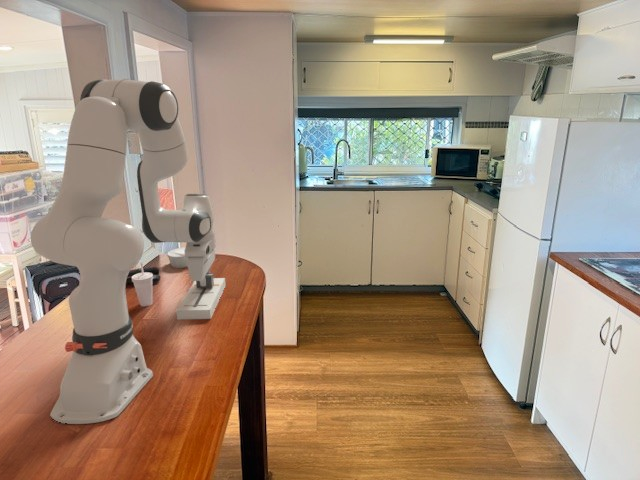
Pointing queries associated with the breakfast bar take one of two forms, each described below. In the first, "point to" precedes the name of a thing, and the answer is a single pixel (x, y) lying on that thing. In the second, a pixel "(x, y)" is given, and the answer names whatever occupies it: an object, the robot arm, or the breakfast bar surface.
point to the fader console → (201, 301)
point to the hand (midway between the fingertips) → (205, 282)
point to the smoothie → (143, 286)
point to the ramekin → (178, 258)
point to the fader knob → (209, 281)
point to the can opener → (149, 269)
